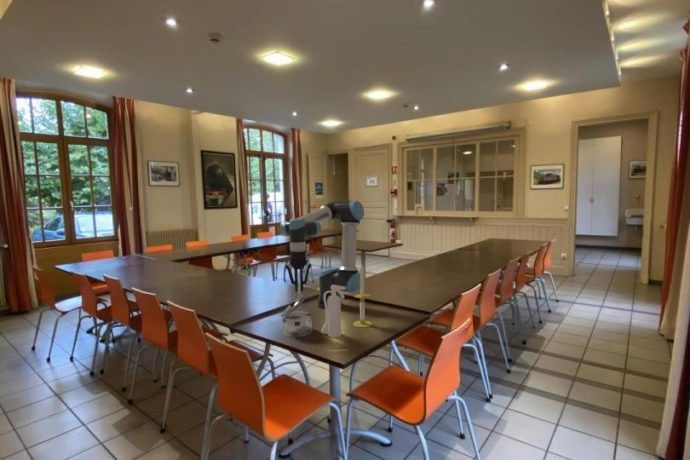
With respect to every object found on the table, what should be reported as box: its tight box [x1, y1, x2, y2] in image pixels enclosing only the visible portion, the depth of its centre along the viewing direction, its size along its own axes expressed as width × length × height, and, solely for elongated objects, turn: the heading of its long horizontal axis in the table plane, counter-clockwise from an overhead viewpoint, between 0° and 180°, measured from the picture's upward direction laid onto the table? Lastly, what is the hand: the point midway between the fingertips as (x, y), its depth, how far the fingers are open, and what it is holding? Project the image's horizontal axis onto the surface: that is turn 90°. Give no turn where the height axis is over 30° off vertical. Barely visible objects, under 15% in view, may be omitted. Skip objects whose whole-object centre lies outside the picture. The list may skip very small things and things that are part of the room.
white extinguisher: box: [320, 285, 346, 338], centre depth 172 cm, size 7×12×25 cm, turn 73°
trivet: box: [284, 328, 314, 337], centre depth 179 cm, size 14×14×1 cm
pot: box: [282, 310, 313, 337], centre depth 179 cm, size 14×18×8 cm
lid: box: [280, 294, 306, 318], centre depth 178 cm, size 15×14×2 cm
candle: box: [352, 263, 373, 328], centre depth 187 cm, size 10×10×32 cm
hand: (299, 297), depth 178 cm, fingers closed
